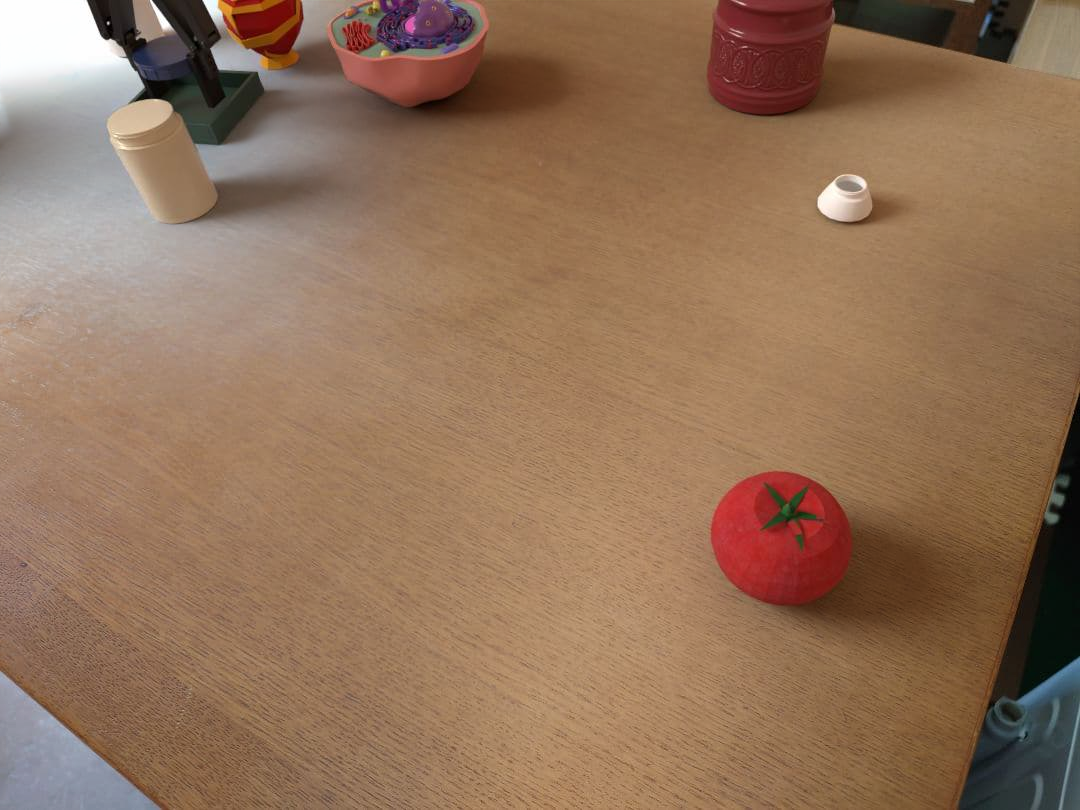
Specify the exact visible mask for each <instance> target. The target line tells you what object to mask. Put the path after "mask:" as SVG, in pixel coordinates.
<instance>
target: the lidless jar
mask: <svg viewBox="0 0 1080 810" xmlns="http://www.w3.org/2000/svg"><path fill="white" fill-rule="evenodd" d="M817 208H818V210H819V211H820V213H821V214H823V215H824V216H825V217H827V218H828V219H831V220H834V221H838V222H844V223H845V222H847V223H852V222H858V221H862V220H864V219H865V218H867V217H869V216H870V214H871V212H872V210H873V200H872V196H871V193H870V189H869V188H868V183H867V181H866V180H865V179H864V178H863V177H862V176H860V175H857V174H850V173H847V174H845V173H844V174H841V175H839V176H838V175H837V177H835V179H834V180H833V181H832V182H831V183H829V184H828V185H827V187H826V188H825V189H824V190H823V191H822V192H821V193H820V195H819V196H818V197H817Z"/></svg>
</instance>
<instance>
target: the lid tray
mask: <svg viewBox="0 0 1080 810" xmlns="http://www.w3.org/2000/svg"><path fill="white" fill-rule="evenodd" d="M217 76H218V79H219V81H220V83H221V86H222V88H223V91H224V93H225V96H226V97H225V98H224V99H223V100H222V101H221V102H220V103H219V104H218V105H217V106H216V107H215V108H208V106H207V103H206V101H205V99H204V96H203V94H202V92H201V89H200V87H199V85H198V83H197V80H196V78H195V76H194V73H193V72H192V73H190V74H188V75H186V76H183V77H180V78H176V79H172V80H165V82H166V84H167V86H168V88H169V91H168V92H166V93H165V94H164V95H163V96H162V97H161V98H160V99H159V100H164V101H167V102H169V103H170V104H171V105H172V107H173V109H174V111H175V112H176V113H178V114H179V115H181V117H182V119H183V121H184V123H185V125H186V127H187V129H188V131H189V133H190V136H191V138H192V140H193V142H194V144H202V145H216V146H217V145H218V146H220V145H221V144H222V143H223V141H224V140H225V139H226V138H227V136H229V134H230V133H231V132H232V131H233V129H234V128H235V127H236V126H237V125H238V123H240V121H241V120H242V119H243V117H244V116H245V115H246V114H247V113H248V111H249V110H250V109H251V108H252V107H253V106H254V105H255V103H256V102H257V101H258V99H259V98H260V97H261V96H262V95H263V94H264V92H265V89H264V86H263V83H262V80H261V78H260V74H259V72H258V71H251V70H234V69H233V70H231V69H219V74H218V75H217ZM148 99H150V97H149V95H148V93H147V91H146V89H145V87H144V86H143V88H142V89H141V90H140V91H139V92H138V93H137V94H136V95H135V96H134V97H133V98H131V100H130V101H129V102H128V103H127V104H126V105H128V104H131V103H134V102H137V101H142V100H148Z"/></svg>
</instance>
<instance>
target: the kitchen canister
mask: <svg viewBox="0 0 1080 810" xmlns="http://www.w3.org/2000/svg"><path fill="white" fill-rule="evenodd" d="M834 1H835V0H718V2H717V3H716V5H715V6H714V7H713V11H712V20H713V22H712V32H711V33H712V34H711V43H710V53H709V60H708V63H707V67H706V79H707V88H708V91H709V94H710V95H711V96H712V98H713V99H714V100H716V101H717V102H718V103H719V104H721V105H723V106H725V107H726V108H729V109H730V110H734V111H737V112H742V113H747V114H751V115H776V114H783V113H788V112H791V111H795V110H797V109H800V108H802V107H804V106H805V105H807V104H808V103H810V102H811V101H812V100H813V99H814V98H815V96H816V95H817V91H818V89H819V87H820V85H821V83H822V79H823V75H824V71H825V70H824V65H825V64H824V63H825V59H826V54H827V49H828V45H829V41H830V40H829V39H830V35H831V31H832V27H833V25H834V23H835V20H836V12H835V8H834Z"/></svg>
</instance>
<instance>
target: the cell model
mask: <svg viewBox="0 0 1080 810" xmlns="http://www.w3.org/2000/svg"><path fill="white" fill-rule="evenodd" d="M489 27H490V22H489V20H488V18H487V15H486V10H485V8H484V6H483V5H482V4H481V3H479V2H477V1H475V0H365V1H364V0H363V1H361V2H359V3H356V4H354V5H353V6H350V7H349V8H347V9H346V10H344V11H342V12H341V13H339V14H338V15H336V16H334V17H333V18H332V19H331V20H330V21H329V22H328V24H327V26H326V31H327V36H328V39H329V41H330V43H331V46H332V48H333V50H334V51H335V53H336V56H337V58H338V60H339V63H340V66H341V68H342V71H343V74H344V77H345V78H346V80H347V81H348V82H349V83H351V84H353V85H355V86H358V87H359V88H360V89H362V90H364V91H366V92H367V93H369V94H372V95H375V96H378V97H380V98H382V99H384V100H386V101H388V102H391V103H394V104H396V105H398V106H401V107H403V108H412V107H413V108H414V107H417V106H419V105H422V104H425V103H429V102H435V101H440V100H444V99H446V98H449V97H450V96H452V95H454V94H456V93H458V92H459V91H461V90H462V89H464V88H465V87H467V86H468V84H469V83H470V82H471V80H472V77H473V75H474V73H475V72H476V70H477V68H478V66H479V64H480V62H481V60H482V56H483V54H484V53H483V52H484V49H485V48H484V47H485V43H486V39H487V34H488V30H489Z"/></svg>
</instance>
